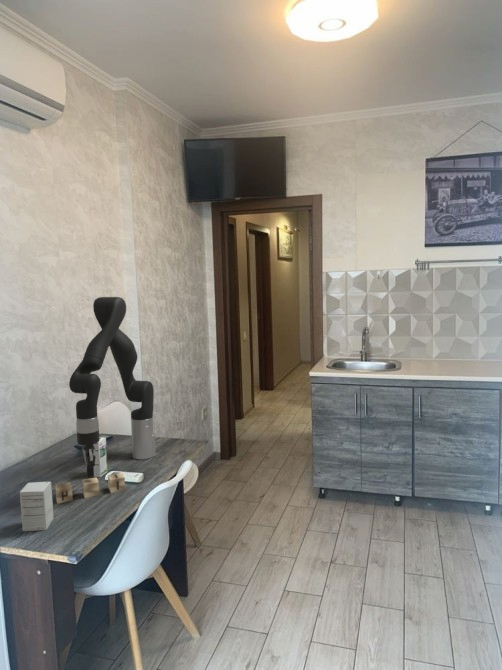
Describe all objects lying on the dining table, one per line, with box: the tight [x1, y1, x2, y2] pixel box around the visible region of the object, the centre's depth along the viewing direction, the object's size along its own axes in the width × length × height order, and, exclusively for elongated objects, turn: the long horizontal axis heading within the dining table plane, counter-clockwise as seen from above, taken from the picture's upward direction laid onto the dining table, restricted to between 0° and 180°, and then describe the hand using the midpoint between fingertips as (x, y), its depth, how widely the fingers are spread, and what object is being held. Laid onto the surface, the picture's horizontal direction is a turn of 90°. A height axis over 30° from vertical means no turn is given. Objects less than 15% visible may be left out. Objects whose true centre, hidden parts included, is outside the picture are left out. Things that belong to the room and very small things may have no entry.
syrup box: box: [92, 436, 109, 478], centre depth 191 cm, size 6×6×14 cm
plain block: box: [81, 477, 100, 499], centre depth 174 cm, size 5×5×5 cm
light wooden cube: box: [55, 481, 74, 505], centre depth 170 cm, size 5×5×5 cm
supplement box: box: [19, 481, 54, 532], centre depth 151 cm, size 7×7×13 cm
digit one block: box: [107, 472, 126, 494], centre depth 177 cm, size 5×5×5 cm
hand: (90, 476), depth 173 cm, fingers closed
